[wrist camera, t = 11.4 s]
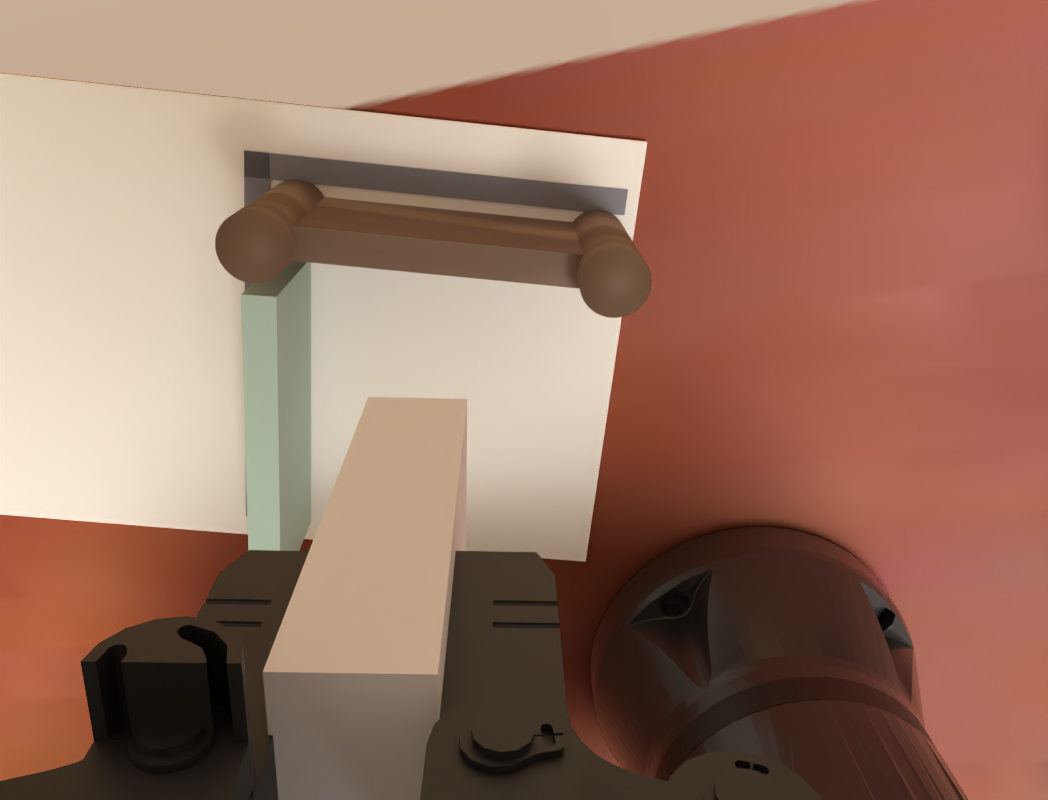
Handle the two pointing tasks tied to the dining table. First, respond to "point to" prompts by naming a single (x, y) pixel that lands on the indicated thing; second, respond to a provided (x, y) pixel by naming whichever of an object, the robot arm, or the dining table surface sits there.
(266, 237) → the walnut fence section
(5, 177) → the card
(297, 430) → the green fence panel
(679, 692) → the robot arm
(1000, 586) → the dining table surface
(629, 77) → the dining table surface
